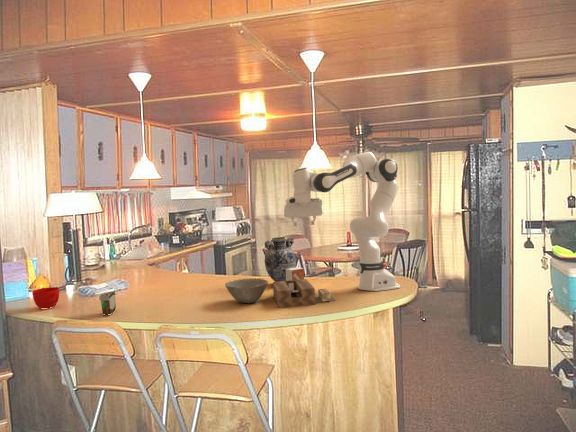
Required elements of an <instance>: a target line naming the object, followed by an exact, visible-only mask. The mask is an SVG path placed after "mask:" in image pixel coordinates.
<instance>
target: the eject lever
mask: <svg viewBox="0 0 576 432" xmlns="http://www.w3.org/2000/svg"><path fill="white" fill-rule="evenodd" d="M288 287H289V289H290V290H291V294H294V293H298V290H294V284H293V283H288Z"/></svg>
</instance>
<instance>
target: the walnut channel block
mask: <svg viewBox="0 0 576 432" xmlns="http://www.w3.org/2000/svg"><path fill="white" fill-rule="evenodd" d="M288 283H293V284H294V290H298V293H294V294H291V290H290V289H289V287H288ZM272 292H273V298H274V301H275V302H276V305H277V307H278V308H280V309H281V308H289V307H290V308H291V307H301V306H302V307H303V306H312V305H316V302H315V296H316V293H315V292H316V289H315V287H314V286H313V285H312V284H311V283H310V281H309V280H308V279H306V278H304V279H302V280H290V281H278V282H275V281H272Z"/></svg>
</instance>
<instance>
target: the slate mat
mask: <svg viewBox="0 0 576 432" xmlns="http://www.w3.org/2000/svg"><path fill="white" fill-rule="evenodd" d="M330 296H331V301H330V302H336V298H334V296H333V295H332V294H330ZM323 302H326V301H322V300H321V299H320V298H319V295H317V296H316V295H315V303H323Z"/></svg>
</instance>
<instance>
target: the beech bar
mask: <svg viewBox="0 0 576 432" xmlns="http://www.w3.org/2000/svg"><path fill="white" fill-rule="evenodd" d="M317 294H318V296H319V298H320V299H321V300H322V301H325V302H332V301H331V296H330V295H331V291H329V289H327V288H319V289H318V290H317Z"/></svg>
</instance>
